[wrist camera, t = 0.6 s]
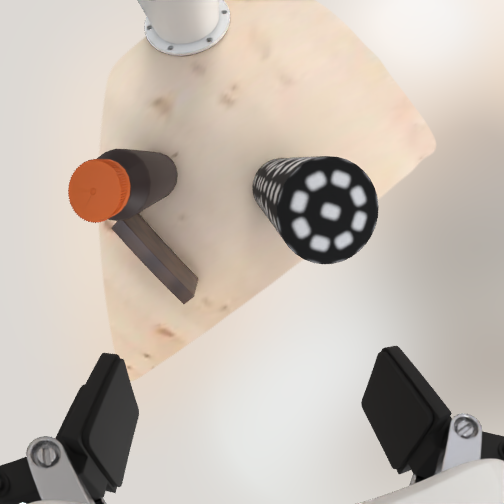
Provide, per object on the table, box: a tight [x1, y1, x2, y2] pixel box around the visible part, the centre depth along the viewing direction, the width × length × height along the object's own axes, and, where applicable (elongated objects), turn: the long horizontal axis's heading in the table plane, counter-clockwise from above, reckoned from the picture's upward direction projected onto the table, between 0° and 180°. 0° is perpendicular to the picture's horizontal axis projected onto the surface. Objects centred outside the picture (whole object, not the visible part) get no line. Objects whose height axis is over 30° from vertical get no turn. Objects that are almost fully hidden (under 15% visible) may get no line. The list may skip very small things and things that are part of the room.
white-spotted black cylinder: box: [253, 156, 378, 264], centre depth 30 cm, size 8×8×20 cm
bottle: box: [68, 149, 177, 223], centre depth 28 cm, size 7×7×20 cm
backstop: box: [112, 214, 198, 304], centre depth 38 cm, size 14×2×6 cm, turn 39°
